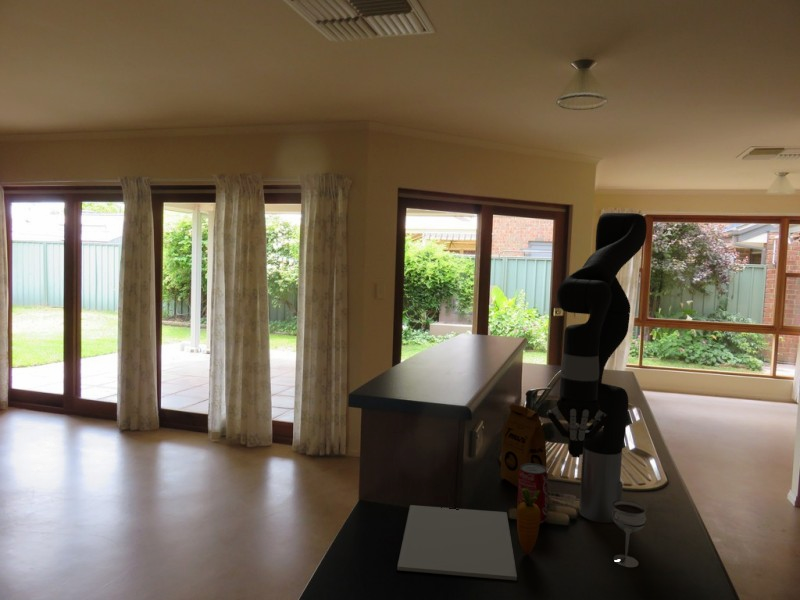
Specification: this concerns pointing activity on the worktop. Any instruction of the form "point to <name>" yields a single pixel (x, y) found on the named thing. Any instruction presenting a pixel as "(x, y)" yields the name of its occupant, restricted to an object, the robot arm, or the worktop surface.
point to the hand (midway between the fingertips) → (574, 456)
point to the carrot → (528, 521)
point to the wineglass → (628, 525)
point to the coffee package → (521, 442)
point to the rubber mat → (457, 543)
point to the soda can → (534, 486)
